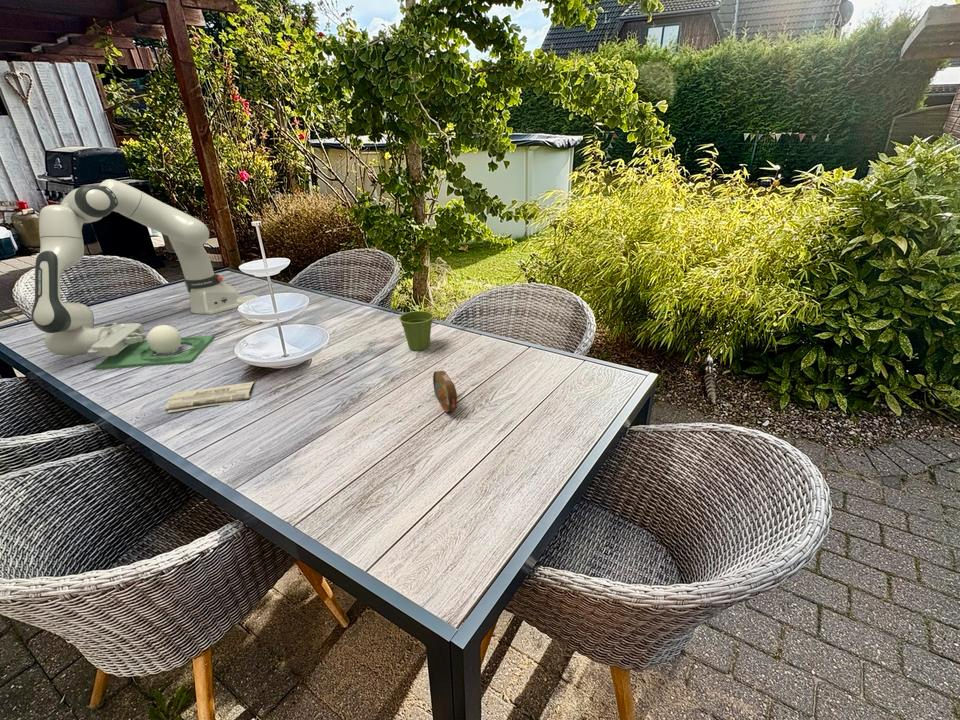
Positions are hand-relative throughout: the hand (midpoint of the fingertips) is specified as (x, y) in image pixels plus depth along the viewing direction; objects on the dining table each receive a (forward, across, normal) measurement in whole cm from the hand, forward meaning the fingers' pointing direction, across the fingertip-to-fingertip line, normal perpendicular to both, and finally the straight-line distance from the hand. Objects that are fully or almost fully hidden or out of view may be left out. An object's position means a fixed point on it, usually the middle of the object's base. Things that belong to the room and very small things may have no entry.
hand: (144, 337), depth 167 cm
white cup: (+28, +24, +6) cm, 38 cm away
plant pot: (+94, -11, +6) cm, 95 cm away
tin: (+102, -50, +6) cm, 113 cm away
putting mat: (+3, 0, +6) cm, 7 cm away
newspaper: (+34, -36, +7) cm, 50 cm away
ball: (+7, 0, +1) cm, 7 cm away
